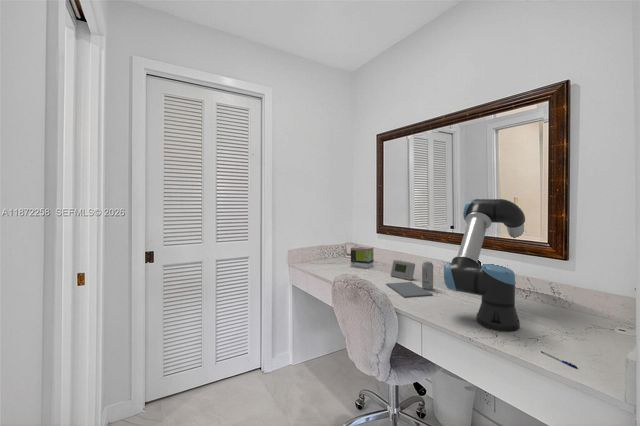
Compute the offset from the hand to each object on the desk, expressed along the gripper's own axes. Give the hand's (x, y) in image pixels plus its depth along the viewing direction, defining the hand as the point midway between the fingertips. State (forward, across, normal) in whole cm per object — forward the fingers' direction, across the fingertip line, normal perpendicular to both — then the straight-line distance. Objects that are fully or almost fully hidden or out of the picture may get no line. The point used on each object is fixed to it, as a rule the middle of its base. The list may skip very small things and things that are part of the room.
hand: (444, 267), depth 172 cm
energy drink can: (+11, 0, -12) cm, 16 cm away
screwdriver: (+11, -78, -12) cm, 80 cm away
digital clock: (+14, +25, -12) cm, 31 cm away
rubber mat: (+23, 0, -12) cm, 25 cm away
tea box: (+29, +63, -12) cm, 70 cm away
